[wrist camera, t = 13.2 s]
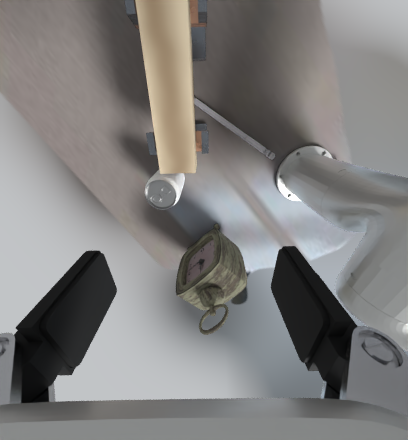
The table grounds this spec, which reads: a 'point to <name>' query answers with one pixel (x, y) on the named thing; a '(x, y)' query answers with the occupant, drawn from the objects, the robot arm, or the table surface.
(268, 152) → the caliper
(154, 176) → the can
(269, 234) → the table surface
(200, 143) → the grey support stand
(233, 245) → the tabletop clock
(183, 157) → the rail
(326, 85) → the table surface
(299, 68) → the table surface
